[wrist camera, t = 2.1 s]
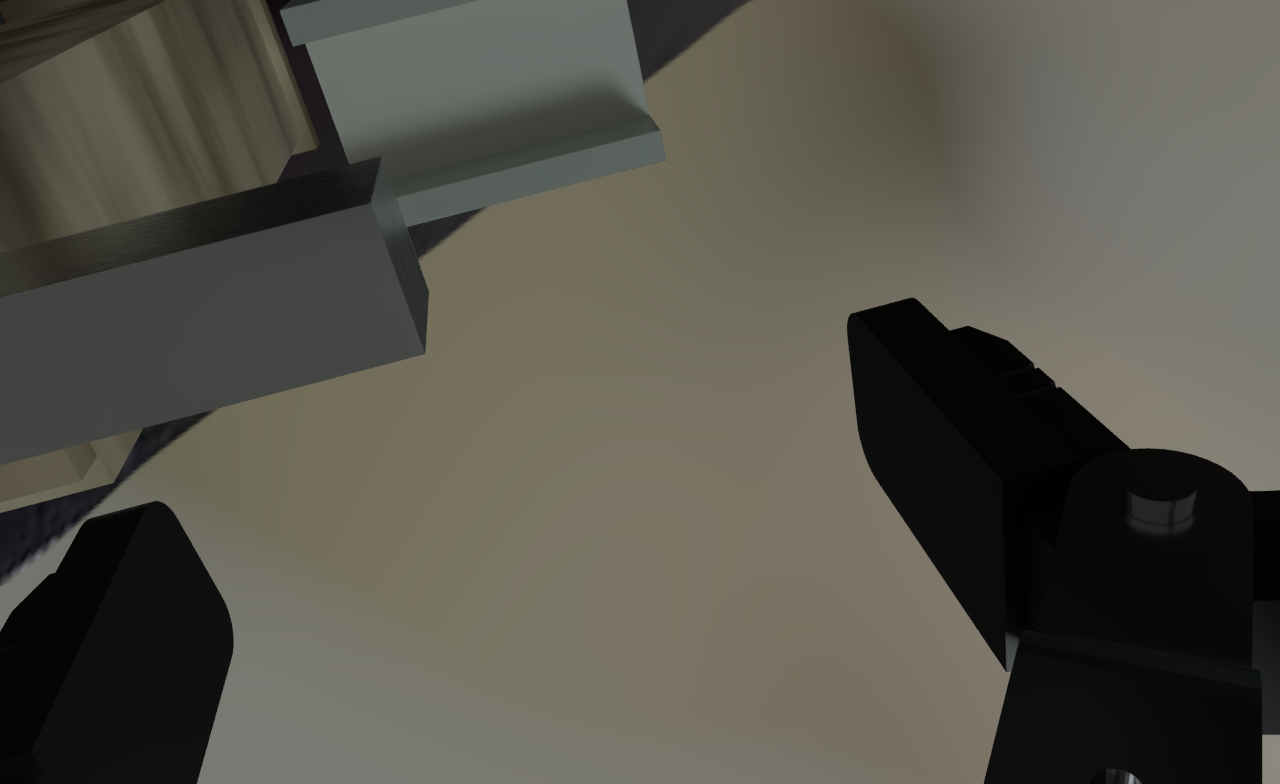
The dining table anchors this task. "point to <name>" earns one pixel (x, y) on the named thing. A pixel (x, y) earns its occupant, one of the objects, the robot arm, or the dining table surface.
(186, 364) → the block
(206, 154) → the stand
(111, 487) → the dining table surface
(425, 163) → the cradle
